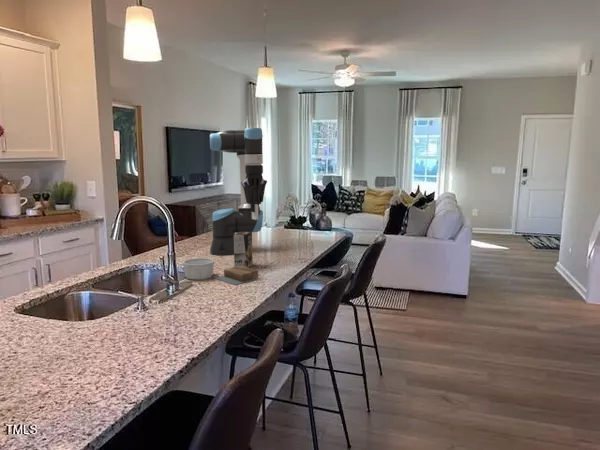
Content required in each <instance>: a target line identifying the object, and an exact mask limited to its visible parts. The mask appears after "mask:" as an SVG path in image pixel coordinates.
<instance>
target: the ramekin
mask: <svg viewBox="0 0 600 450" xmlns="http://www.w3.org/2000/svg"><path fill="white" fill-rule="evenodd" d="M214 265H215V260H214V258H207V257H194V258H188V259H185V260H183V261H182V266H183V269H184V275H185V277H186V278H187V279H189V280H195V281H196V280H197V281H199V280H200V281H201V280H206V279H209V278H211V277H212V276H213V275H214V274H213V273H214Z"/></svg>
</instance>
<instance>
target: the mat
mask: <svg viewBox="0 0 600 450" xmlns="http://www.w3.org/2000/svg"><path fill="white" fill-rule="evenodd" d="M214 279H215V280H218V281H222V282H224V283H227V284H231V285H234V286H238V285H241V284H245V283H249V282H252V281H256V280H258V279H259V277H258V278H254V279H250V280H247V281H243V282H241V281H238V280H234V279H231V278H228V277H225V276H224V275H222V276H217V277H214Z"/></svg>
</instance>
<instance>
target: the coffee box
mask: <svg viewBox="0 0 600 450" xmlns="http://www.w3.org/2000/svg"><path fill="white" fill-rule="evenodd" d="M253 258H254V257H253V233H252V232H238V233H235V234H234V254H233V260H234V261H233V263H234V267H237V266H243V267H247V268H250V267H251V266H253V265H254V264H253V262H254V261H253Z"/></svg>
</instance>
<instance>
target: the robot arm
mask: <svg viewBox="0 0 600 450" xmlns="http://www.w3.org/2000/svg"><path fill="white" fill-rule="evenodd" d="M263 137H264V135H263V129H262V128H260V127H246V128H245V129H241V130H240V129H239V130H238V129H237V130H232V129H231V130H228V129H227V130H223V131H220V132H215V133H210V134H209V148H210V150H211V151H216V152H224V153H229V154H231V153H232V154H233V153H234V154H236V157H237V158H238V160H239V179H240V180H239V181H240V183H239V184H240V205H239V206H238V207H237V209H238V210H235V209H234V207H232V208H223V209H222V208H221V209H218V210H215V211H213V212H212V220H211V221H212V241H211V245H210V248H209V254H211V255H213V256H230V255H234V234H236V233H238V232H252V234H253V233H259V232H260V231H261V230H262V228H263V227H262V226H263V221H264V220H263V219H264V210H261V207H260V205H261V204H262V203H263V202H264V197H265V192H266V191H265V190H266V185H267V183H268V180H267V179H264V178H263V173H264V166H263V163H264V162H263V160H264V159H263V156H264V155H263V154H264V153H263Z"/></svg>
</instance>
